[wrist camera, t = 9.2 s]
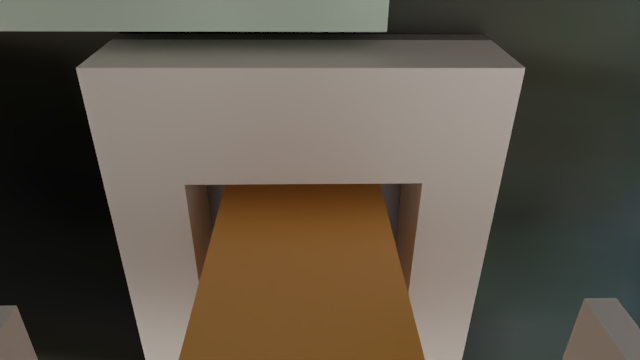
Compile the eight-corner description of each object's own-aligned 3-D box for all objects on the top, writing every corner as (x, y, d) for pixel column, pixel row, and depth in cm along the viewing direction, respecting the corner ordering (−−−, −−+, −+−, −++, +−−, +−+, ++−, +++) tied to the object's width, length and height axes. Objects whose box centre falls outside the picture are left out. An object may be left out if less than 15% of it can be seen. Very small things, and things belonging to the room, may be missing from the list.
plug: (229, 167, 15) (130, 539, 7) (375, 166, 15) (468, 530, 7) (239, 280, 17) (176, 668, 9) (367, 278, 18) (429, 661, 9)
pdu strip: (118, 33, 14) (75, 67, 11) (484, 34, 14) (525, 68, 11) (204, 487, 25) (193, 558, 22) (407, 483, 25) (419, 552, 22)
